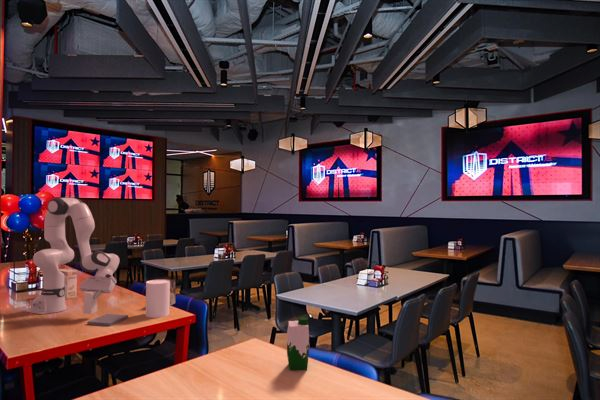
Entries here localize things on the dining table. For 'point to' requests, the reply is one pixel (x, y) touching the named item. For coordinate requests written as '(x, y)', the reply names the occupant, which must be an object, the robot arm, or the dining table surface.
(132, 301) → the dining table surface
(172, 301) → the coffee box
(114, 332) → the dining table surface
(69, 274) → the coffeecake box
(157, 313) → the canister
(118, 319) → the slate board
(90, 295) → the white post
